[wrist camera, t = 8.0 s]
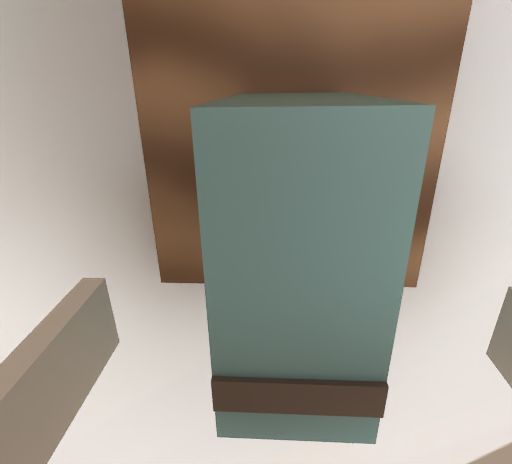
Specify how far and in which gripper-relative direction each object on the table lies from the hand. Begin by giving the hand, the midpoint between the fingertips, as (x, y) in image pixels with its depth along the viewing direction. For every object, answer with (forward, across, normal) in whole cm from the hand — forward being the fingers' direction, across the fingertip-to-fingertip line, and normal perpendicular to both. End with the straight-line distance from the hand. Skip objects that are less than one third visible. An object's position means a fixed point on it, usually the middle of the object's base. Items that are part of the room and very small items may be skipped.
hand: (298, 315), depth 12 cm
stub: (+9, 0, +2) cm, 9 cm away
